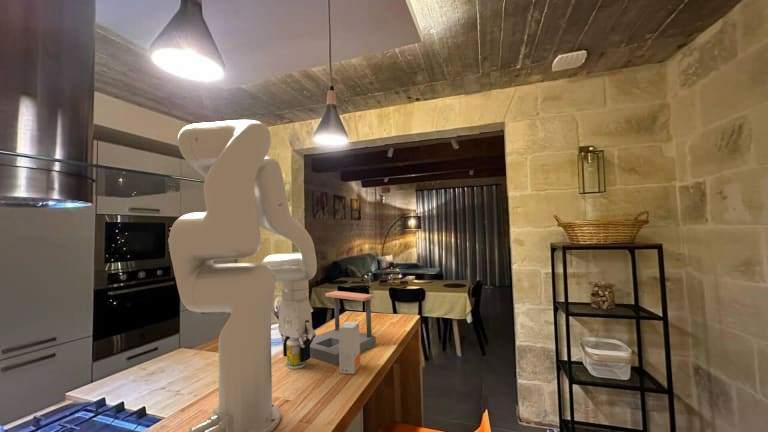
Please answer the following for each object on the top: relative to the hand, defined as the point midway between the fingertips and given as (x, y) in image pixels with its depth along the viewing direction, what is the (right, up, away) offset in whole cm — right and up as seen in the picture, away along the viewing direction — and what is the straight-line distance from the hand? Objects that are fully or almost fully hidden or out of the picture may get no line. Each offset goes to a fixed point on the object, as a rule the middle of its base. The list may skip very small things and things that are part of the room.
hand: (296, 357), depth 86 cm
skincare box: (+16, -2, -4) cm, 17 cm away
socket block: (+10, -3, +11) cm, 15 cm away
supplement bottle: (0, -2, 0) cm, 3 cm away
